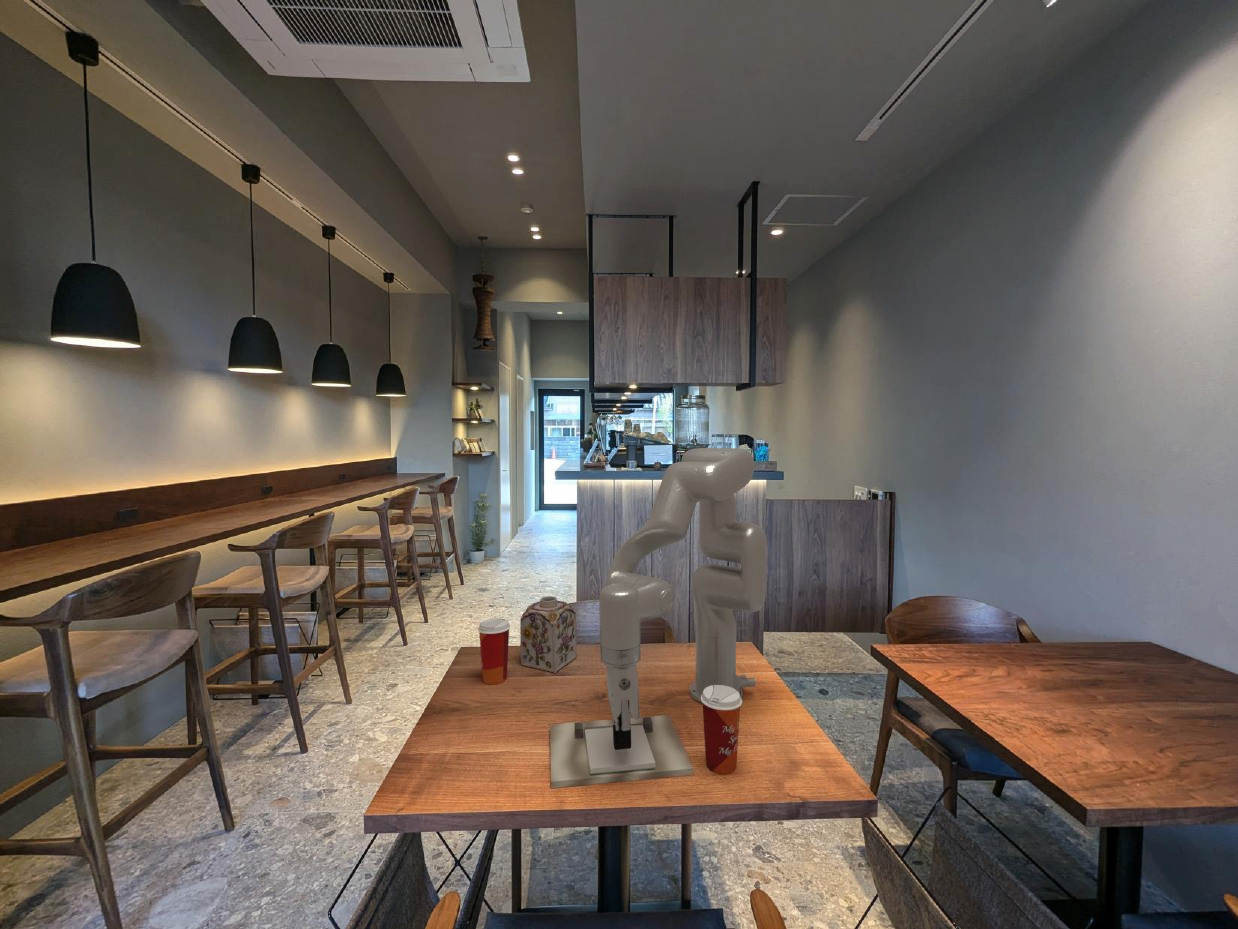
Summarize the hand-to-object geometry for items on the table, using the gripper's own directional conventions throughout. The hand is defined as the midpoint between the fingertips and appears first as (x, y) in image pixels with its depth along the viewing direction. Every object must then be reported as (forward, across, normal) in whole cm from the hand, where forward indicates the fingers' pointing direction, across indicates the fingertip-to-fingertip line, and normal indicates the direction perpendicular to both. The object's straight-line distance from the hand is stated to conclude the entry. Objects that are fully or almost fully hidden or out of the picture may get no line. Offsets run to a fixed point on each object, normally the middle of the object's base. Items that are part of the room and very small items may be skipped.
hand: (622, 746), depth 98 cm
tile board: (+4, +5, 0) cm, 6 cm away
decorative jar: (+5, +50, +14) cm, 52 cm away
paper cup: (+4, -2, -18) cm, 19 cm away
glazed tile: (+2, +10, 0) cm, 10 cm away
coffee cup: (+4, +40, +28) cm, 49 cm away
